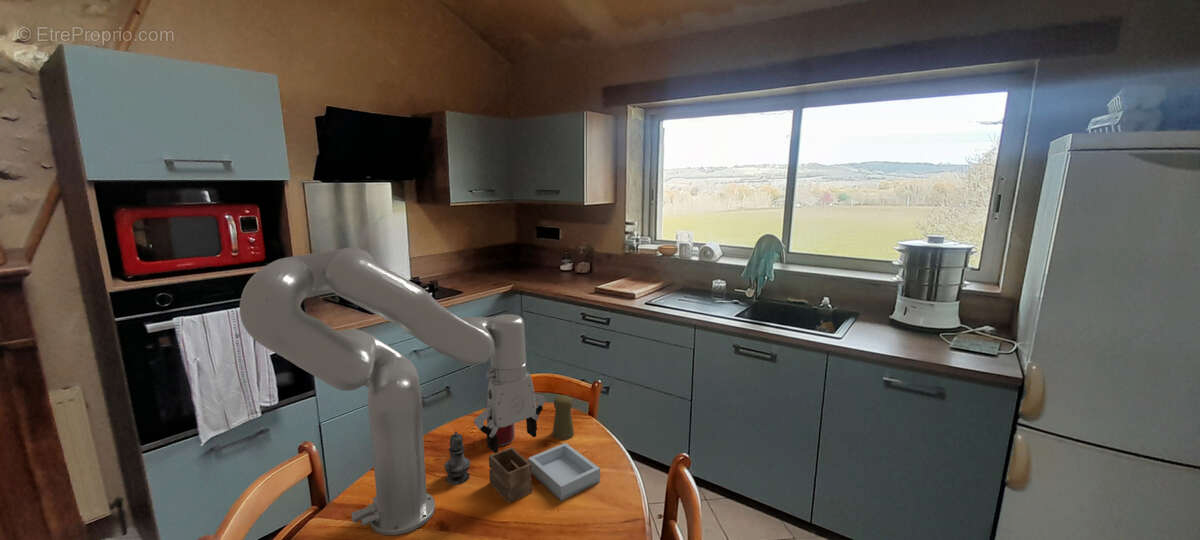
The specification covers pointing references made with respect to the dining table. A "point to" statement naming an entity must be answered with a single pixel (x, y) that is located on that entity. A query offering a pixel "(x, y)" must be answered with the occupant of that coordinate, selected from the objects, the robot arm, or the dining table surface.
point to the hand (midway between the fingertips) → (513, 442)
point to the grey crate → (564, 471)
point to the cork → (563, 418)
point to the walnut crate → (510, 474)
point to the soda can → (504, 433)
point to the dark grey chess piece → (457, 461)
